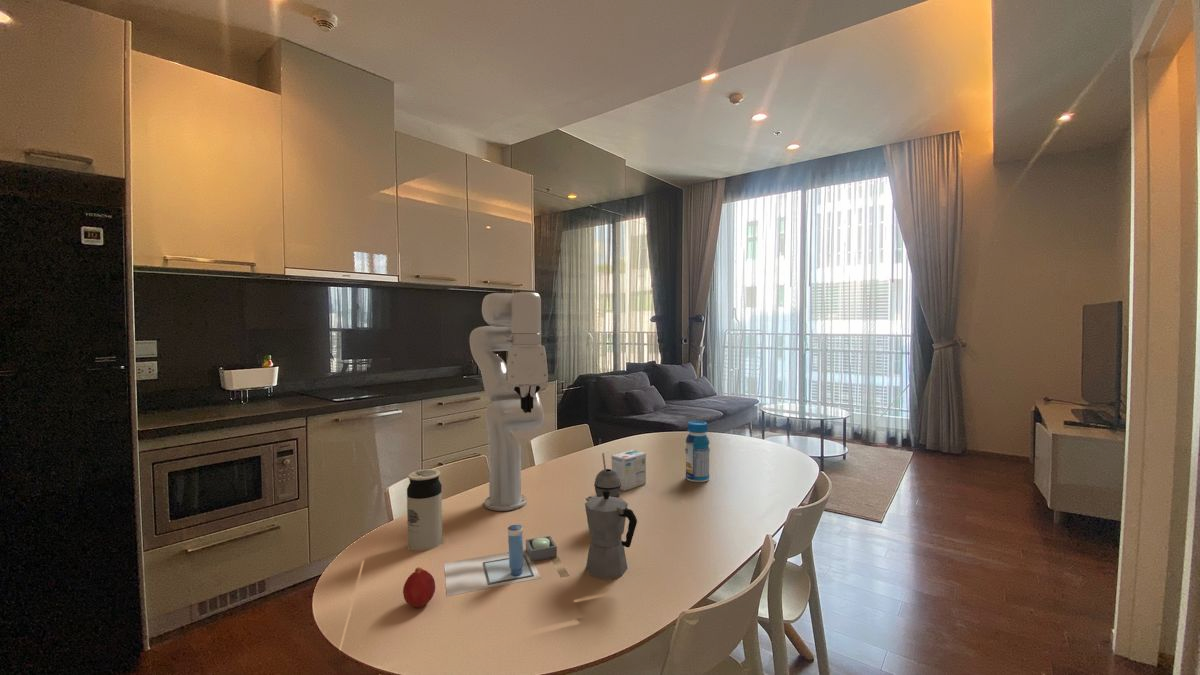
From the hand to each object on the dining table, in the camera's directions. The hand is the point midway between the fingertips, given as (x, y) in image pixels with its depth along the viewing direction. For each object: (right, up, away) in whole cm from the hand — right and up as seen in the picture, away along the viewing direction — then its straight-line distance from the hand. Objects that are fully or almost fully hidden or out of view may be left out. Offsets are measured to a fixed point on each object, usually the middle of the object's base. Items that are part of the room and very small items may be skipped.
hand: (527, 411), depth 122 cm
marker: (+1, -32, -20) cm, 37 cm away
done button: (+5, -31, -11) cm, 33 cm away
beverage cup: (+21, -32, +5) cm, 39 cm away
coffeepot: (+21, -33, -18) cm, 43 cm away
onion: (-16, -33, -31) cm, 48 cm away
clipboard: (-3, -33, -17) cm, 37 cm away
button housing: (+5, -32, -11) cm, 34 cm away
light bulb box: (+29, -31, +39) cm, 58 cm away
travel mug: (-24, -33, -5) cm, 41 cm away
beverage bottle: (+53, -31, +45) cm, 76 cm away
